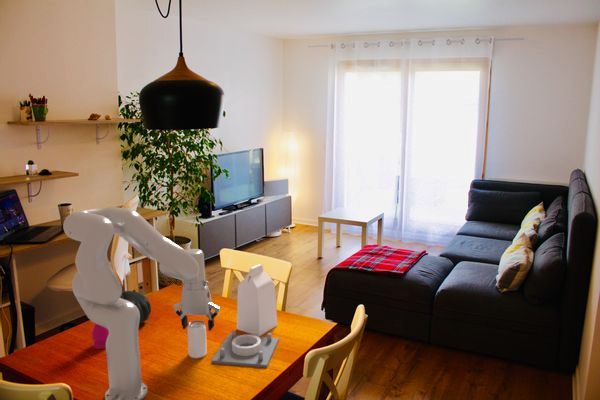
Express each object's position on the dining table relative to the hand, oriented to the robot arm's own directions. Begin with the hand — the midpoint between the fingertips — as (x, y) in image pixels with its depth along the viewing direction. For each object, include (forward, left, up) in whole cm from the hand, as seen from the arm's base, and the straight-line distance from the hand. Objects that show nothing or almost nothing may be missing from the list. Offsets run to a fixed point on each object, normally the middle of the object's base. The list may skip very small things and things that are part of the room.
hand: (198, 328), depth 182 cm
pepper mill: (0, +38, -10) cm, 40 cm away
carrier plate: (+4, -17, -10) cm, 20 cm away
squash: (+20, +36, -10) cm, 43 cm away
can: (-1, 0, -10) cm, 10 cm away
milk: (+24, -16, -10) cm, 31 cm away
